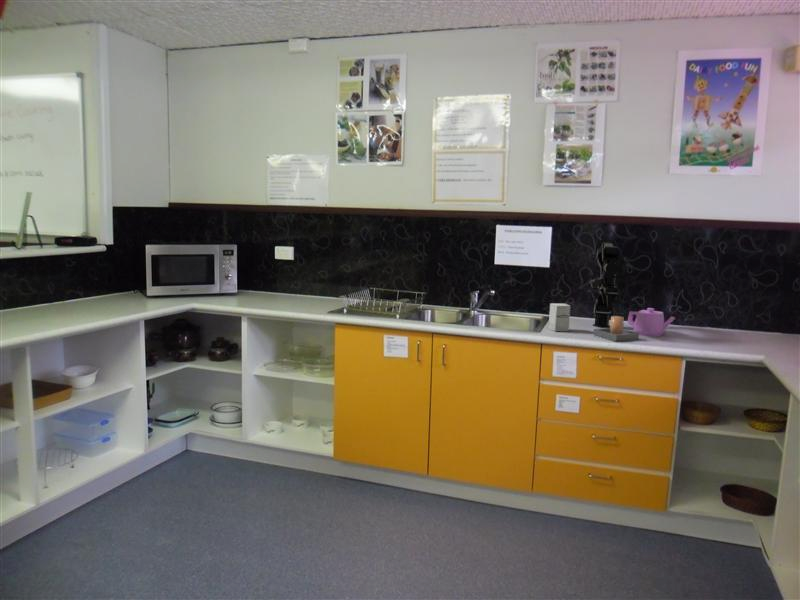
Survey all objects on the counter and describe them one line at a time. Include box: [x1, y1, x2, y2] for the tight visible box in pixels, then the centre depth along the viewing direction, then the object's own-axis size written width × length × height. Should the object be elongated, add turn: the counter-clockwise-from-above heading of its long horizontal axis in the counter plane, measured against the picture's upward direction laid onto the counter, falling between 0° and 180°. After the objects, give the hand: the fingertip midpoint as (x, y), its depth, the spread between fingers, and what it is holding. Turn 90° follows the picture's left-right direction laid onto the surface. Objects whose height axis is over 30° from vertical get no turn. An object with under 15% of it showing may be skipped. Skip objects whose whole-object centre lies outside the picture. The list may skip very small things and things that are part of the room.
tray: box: [593, 327, 640, 343], centre depth 288 cm, size 14×14×3 cm
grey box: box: [548, 302, 571, 332], centre depth 301 cm, size 7×7×13 cm
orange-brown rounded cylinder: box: [609, 315, 625, 335], centre depth 287 cm, size 6×6×9 cm
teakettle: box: [627, 307, 676, 338], centre depth 299 cm, size 17×17×12 cm
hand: (606, 305), depth 297 cm, fingers open, 9 cm apart
